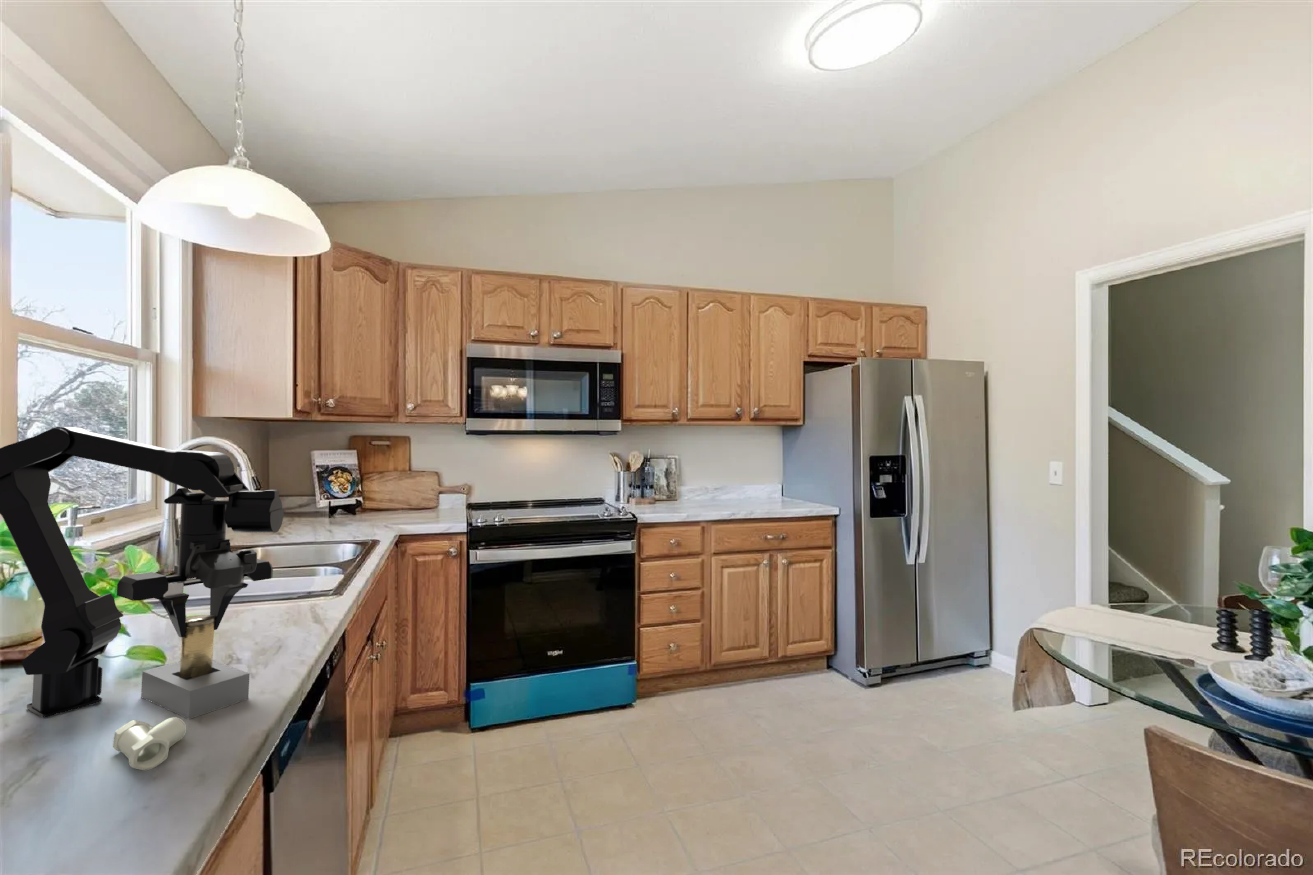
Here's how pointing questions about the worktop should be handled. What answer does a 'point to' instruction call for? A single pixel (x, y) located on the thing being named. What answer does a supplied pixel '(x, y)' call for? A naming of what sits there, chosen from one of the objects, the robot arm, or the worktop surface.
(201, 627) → the brass plug
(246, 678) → the block
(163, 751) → the pipe fitting
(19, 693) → the worktop surface
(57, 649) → the robot arm
